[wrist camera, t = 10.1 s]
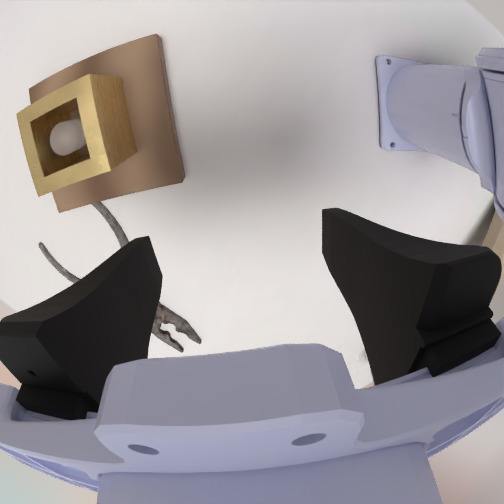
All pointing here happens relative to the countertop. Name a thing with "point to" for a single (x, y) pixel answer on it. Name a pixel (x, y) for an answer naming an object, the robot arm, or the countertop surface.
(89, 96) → the collar
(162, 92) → the post board
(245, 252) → the countertop surface
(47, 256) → the pliers
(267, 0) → the countertop surface
